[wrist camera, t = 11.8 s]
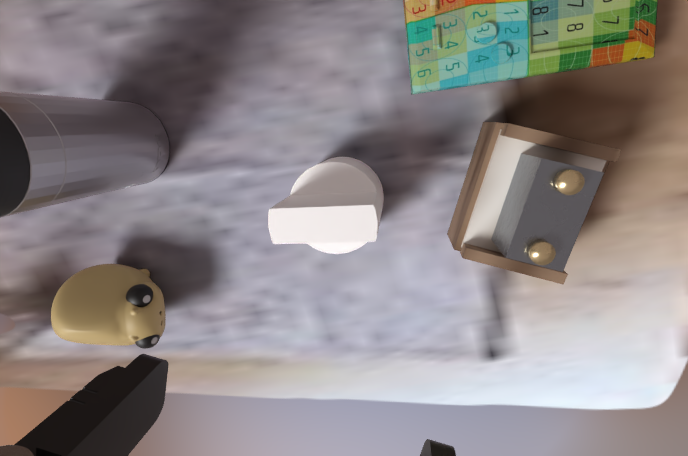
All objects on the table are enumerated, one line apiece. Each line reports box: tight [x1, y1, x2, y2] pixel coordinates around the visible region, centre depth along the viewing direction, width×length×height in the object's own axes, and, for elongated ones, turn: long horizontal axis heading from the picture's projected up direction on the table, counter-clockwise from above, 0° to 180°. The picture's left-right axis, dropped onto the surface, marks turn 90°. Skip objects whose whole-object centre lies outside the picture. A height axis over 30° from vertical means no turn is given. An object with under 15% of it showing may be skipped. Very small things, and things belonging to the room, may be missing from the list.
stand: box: [447, 122, 621, 284], centre depth 36 cm, size 10×12×8 cm
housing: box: [491, 153, 604, 272], centre depth 31 cm, size 8×4×6 cm, turn 168°
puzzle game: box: [403, 0, 658, 94], centre depth 34 cm, size 12×5×20 cm
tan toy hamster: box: [51, 264, 165, 348], centre depth 44 cm, size 10×12×11 cm
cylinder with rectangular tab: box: [268, 157, 384, 254], centre depth 37 cm, size 9×9×12 cm
